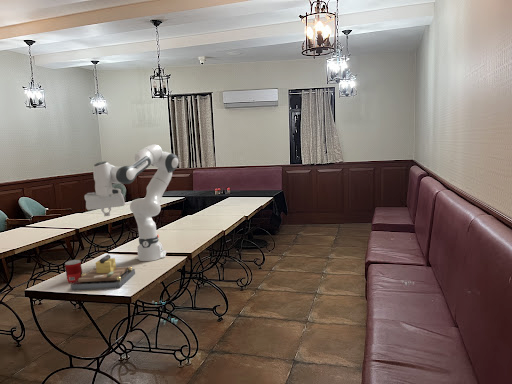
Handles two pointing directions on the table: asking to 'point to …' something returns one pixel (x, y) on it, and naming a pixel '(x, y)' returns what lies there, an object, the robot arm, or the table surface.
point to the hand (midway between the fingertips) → (107, 215)
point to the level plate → (93, 273)
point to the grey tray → (104, 282)
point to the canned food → (73, 270)
